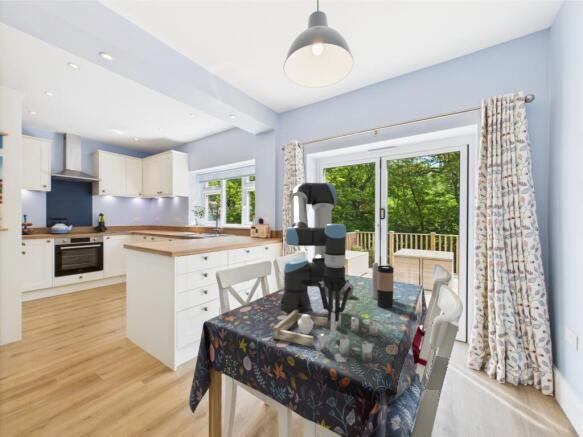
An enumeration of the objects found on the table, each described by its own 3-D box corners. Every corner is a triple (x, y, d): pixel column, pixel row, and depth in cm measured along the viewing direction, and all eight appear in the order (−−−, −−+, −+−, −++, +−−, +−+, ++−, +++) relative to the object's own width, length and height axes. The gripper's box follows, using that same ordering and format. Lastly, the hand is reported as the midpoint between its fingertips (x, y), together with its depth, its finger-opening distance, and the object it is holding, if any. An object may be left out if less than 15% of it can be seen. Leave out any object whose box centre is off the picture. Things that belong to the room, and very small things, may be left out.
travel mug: (374, 305, 129) (374, 266, 129) (381, 302, 134) (381, 264, 134) (388, 310, 123) (389, 268, 123) (395, 306, 129) (396, 267, 129)
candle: (399, 300, 138) (400, 263, 138) (374, 299, 139) (374, 263, 139) (394, 296, 146) (395, 261, 145) (370, 295, 146) (371, 261, 146)
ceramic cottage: (317, 292, 150) (319, 267, 149) (339, 290, 157) (341, 266, 157) (333, 302, 136) (335, 274, 135) (356, 299, 144) (359, 273, 143)
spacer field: (318, 350, 85) (318, 335, 85) (334, 325, 105) (334, 313, 105) (371, 362, 78) (371, 346, 78) (377, 333, 98) (377, 320, 98)
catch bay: (273, 338, 93) (273, 327, 92) (295, 318, 111) (295, 309, 111) (311, 347, 87) (312, 335, 87) (327, 325, 105) (328, 315, 105)
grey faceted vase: (316, 332, 98) (317, 314, 98) (306, 337, 94) (306, 318, 93) (304, 327, 102) (304, 310, 102) (294, 332, 98) (294, 314, 98)
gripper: (314, 265, 93) (313, 329, 93) (350, 269, 88) (349, 337, 88) (320, 262, 100) (319, 321, 100) (354, 265, 94) (353, 328, 95)
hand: (333, 329), depth 94 cm, fingers closed
